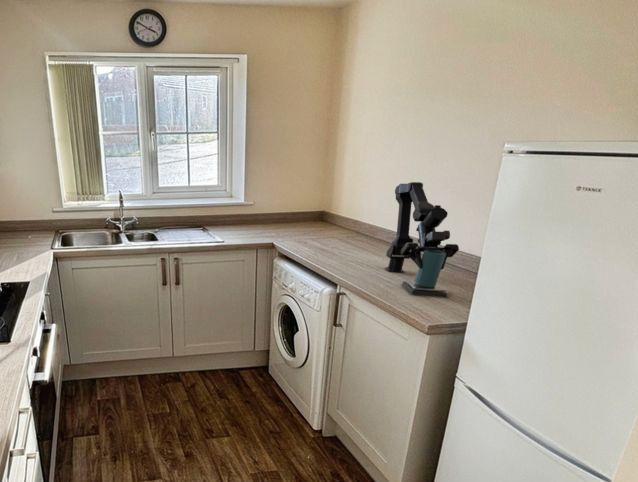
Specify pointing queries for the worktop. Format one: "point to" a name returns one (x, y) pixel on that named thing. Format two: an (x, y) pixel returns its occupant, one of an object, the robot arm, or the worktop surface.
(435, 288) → the pan
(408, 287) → the scale
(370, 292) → the worktop surface
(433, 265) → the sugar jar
